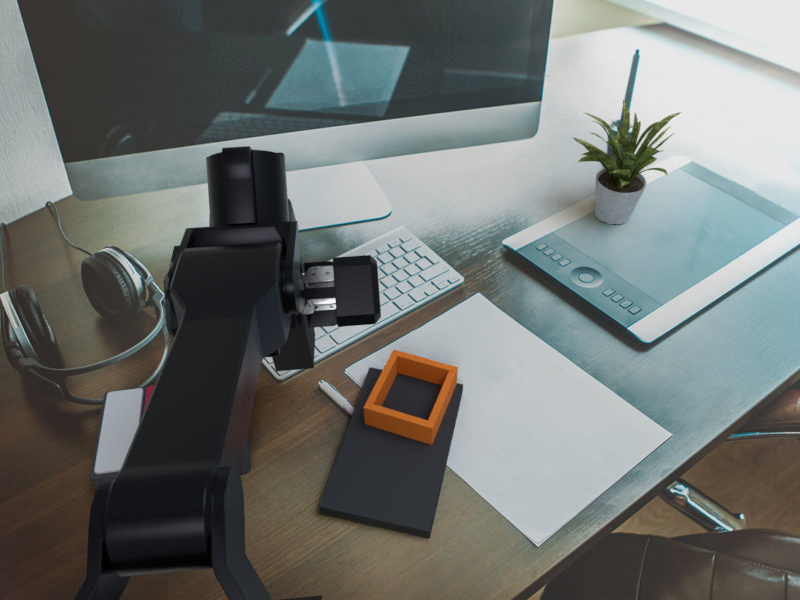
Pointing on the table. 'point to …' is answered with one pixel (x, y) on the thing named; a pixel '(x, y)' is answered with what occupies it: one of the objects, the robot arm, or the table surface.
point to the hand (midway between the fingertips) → (286, 299)
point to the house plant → (623, 167)
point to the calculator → (124, 431)
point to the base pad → (396, 446)
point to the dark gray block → (297, 348)
